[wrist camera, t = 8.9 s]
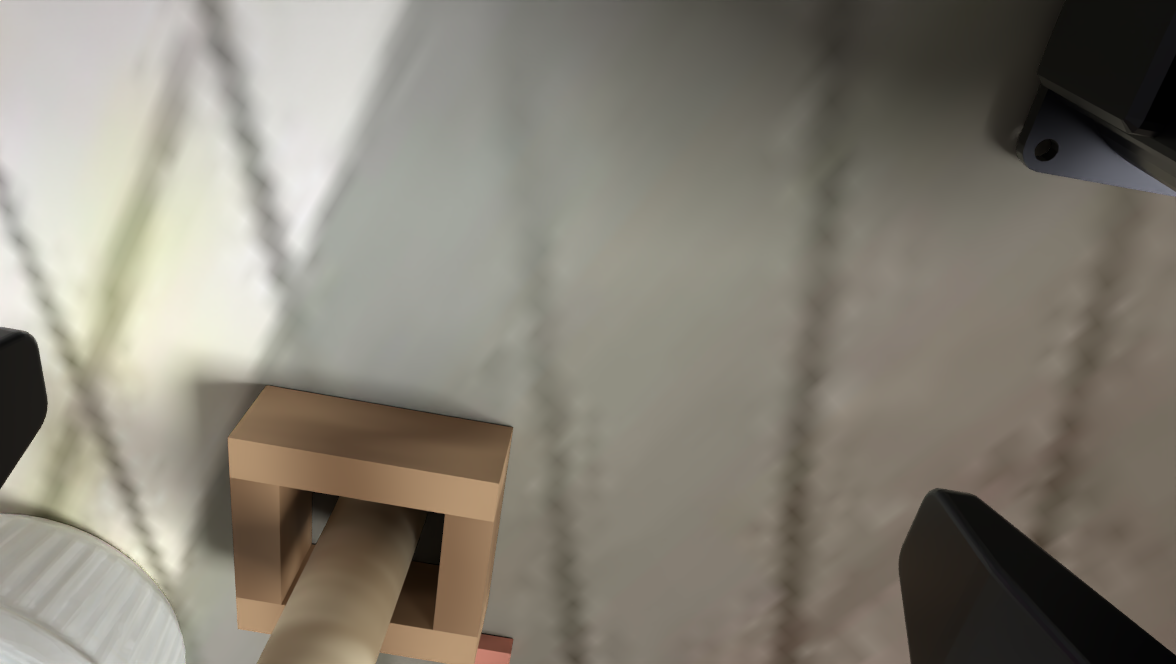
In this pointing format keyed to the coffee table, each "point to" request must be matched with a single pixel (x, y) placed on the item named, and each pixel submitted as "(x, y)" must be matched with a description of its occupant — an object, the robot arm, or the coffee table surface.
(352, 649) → the dowel
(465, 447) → the wooden square frame
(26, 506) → the coffee table surface
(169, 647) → the ramekin
